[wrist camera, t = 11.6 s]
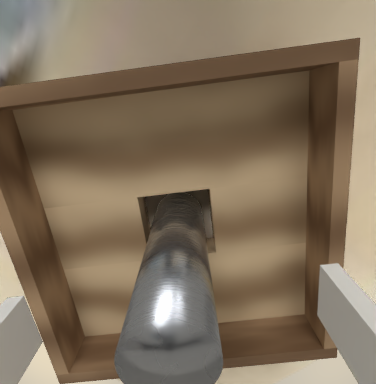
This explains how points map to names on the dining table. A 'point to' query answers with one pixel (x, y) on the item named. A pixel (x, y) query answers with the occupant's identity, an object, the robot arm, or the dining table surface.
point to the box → (181, 182)
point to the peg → (172, 304)
